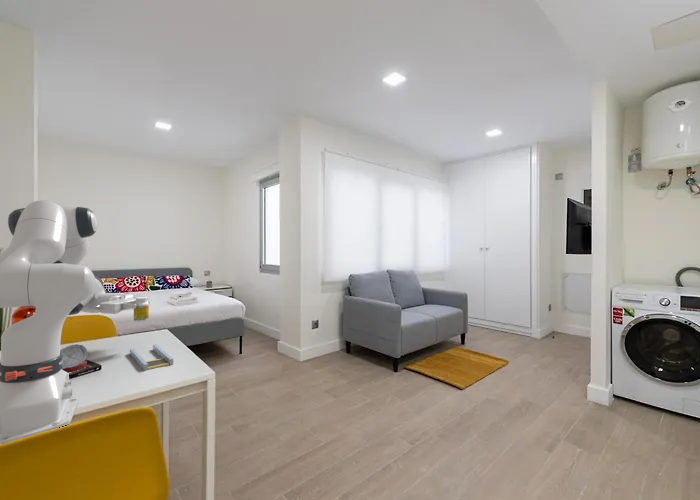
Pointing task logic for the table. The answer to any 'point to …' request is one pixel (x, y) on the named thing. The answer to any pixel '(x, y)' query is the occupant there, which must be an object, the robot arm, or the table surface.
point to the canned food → (74, 358)
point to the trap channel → (152, 364)
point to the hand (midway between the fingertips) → (142, 304)
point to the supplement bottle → (141, 309)
